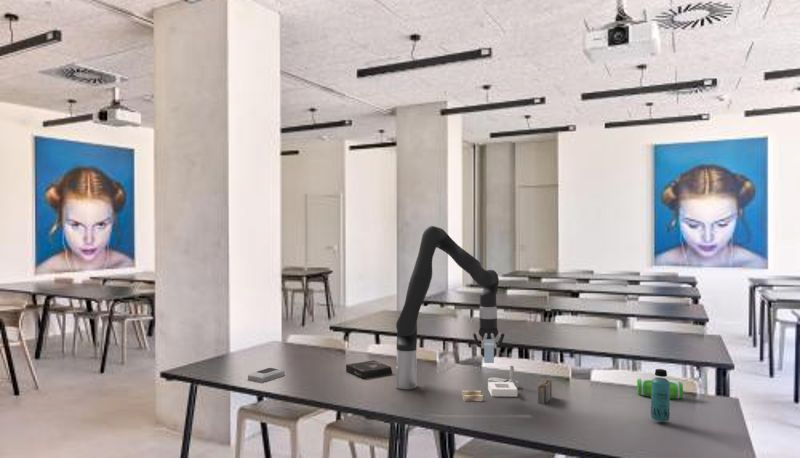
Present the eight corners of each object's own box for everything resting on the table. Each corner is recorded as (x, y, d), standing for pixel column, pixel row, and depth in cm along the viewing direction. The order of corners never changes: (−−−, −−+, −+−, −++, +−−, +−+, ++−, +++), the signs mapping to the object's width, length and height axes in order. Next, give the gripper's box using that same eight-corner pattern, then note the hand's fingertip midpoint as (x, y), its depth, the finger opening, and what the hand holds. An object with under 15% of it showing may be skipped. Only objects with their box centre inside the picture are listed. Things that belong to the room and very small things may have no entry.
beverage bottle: (647, 419, 214) (647, 367, 214) (664, 419, 215) (664, 367, 215) (656, 425, 208) (656, 372, 208) (673, 425, 209) (674, 371, 208)
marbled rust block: (545, 405, 232) (545, 382, 232) (538, 404, 234) (538, 381, 234) (552, 398, 242) (552, 375, 242) (545, 397, 244) (545, 374, 244)
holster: (463, 403, 234) (463, 396, 234) (461, 397, 242) (461, 390, 242) (482, 403, 234) (482, 396, 234) (480, 397, 242) (480, 390, 242)
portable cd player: (392, 374, 280) (392, 366, 280) (362, 380, 270) (362, 371, 270) (374, 367, 293) (374, 360, 293) (346, 372, 284) (346, 364, 284)
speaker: (680, 396, 244) (680, 379, 244) (683, 401, 237) (683, 383, 237) (637, 392, 250) (637, 375, 250) (638, 397, 243) (638, 379, 243)
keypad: (247, 372, 268) (270, 366, 281) (247, 380, 268) (270, 373, 281) (262, 375, 263) (284, 368, 276) (262, 383, 263) (284, 376, 276)
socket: (491, 398, 240) (491, 389, 240) (487, 390, 251) (488, 382, 251) (517, 398, 240) (517, 389, 240) (512, 391, 251) (512, 382, 251)
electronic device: (491, 361, 267) (519, 365, 257) (491, 382, 267) (520, 387, 257) (485, 363, 263) (514, 368, 253) (485, 384, 263) (514, 390, 253)
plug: (484, 362, 239) (484, 339, 239) (483, 360, 243) (483, 337, 243) (494, 362, 239) (493, 339, 239) (492, 360, 243) (492, 337, 243)
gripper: (472, 318, 237) (472, 358, 237) (506, 318, 237) (506, 358, 237) (470, 315, 245) (471, 354, 245) (503, 315, 244) (504, 354, 244)
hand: (488, 356), depth 241 cm, fingers closed on plug, 4 cm apart
